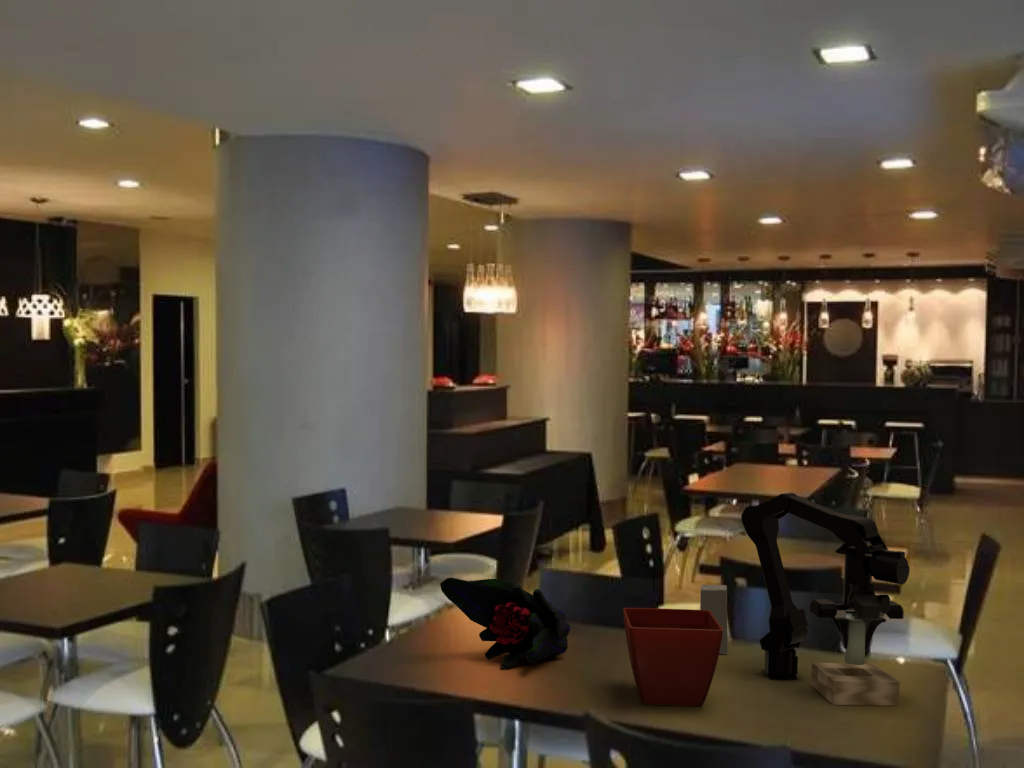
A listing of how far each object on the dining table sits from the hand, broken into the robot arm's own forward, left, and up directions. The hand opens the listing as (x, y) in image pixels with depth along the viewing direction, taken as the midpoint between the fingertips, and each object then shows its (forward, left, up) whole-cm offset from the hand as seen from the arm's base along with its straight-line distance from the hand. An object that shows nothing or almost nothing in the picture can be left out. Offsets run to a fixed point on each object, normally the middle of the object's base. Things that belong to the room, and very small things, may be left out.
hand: (855, 648), depth 237 cm
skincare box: (-22, +36, -10) cm, 43 cm away
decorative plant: (-72, +22, -10) cm, 76 cm away
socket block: (0, 0, -10) cm, 10 cm away
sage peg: (0, 0, -3) cm, 3 cm away
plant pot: (-41, -3, -10) cm, 42 cm away
